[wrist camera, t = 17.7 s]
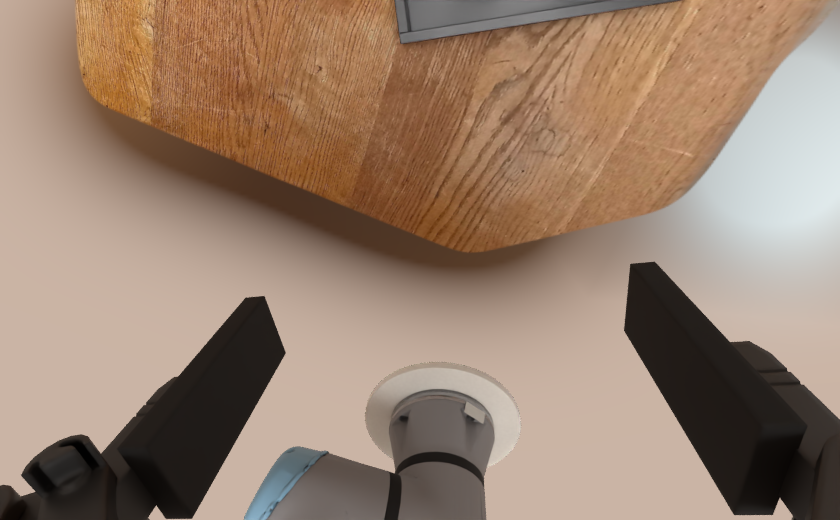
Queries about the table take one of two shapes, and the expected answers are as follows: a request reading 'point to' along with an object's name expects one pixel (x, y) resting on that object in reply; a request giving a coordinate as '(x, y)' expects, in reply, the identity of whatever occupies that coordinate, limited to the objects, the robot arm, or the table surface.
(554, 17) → the tray
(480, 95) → the table surface
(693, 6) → the table surface
